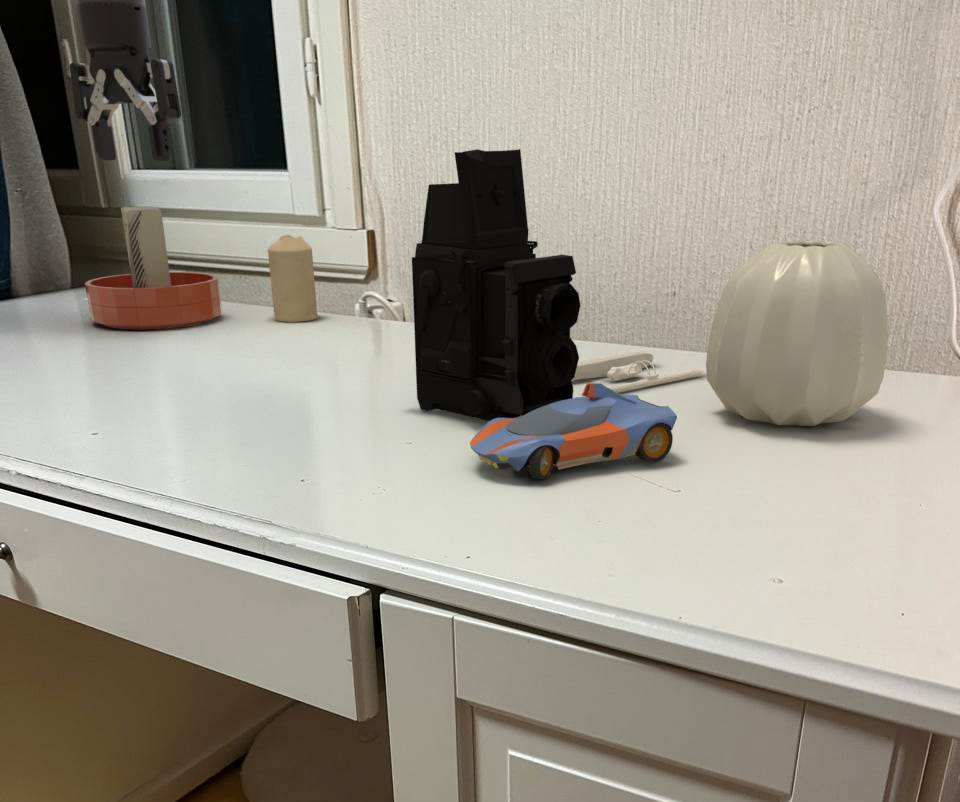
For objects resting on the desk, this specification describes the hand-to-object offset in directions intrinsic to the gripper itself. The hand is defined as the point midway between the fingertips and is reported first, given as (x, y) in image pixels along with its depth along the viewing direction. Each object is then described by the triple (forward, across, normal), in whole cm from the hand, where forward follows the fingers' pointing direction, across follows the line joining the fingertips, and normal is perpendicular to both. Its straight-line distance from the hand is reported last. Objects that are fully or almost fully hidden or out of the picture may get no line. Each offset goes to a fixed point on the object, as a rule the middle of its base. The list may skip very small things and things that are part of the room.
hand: (134, 160), depth 120 cm
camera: (+19, +61, -26) cm, 69 cm away
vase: (+18, +83, -17) cm, 87 cm away
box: (+18, 0, 0) cm, 18 cm away
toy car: (+19, +71, -36) cm, 82 cm away
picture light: (+19, +68, -10) cm, 71 cm away
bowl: (+19, 0, 0) cm, 19 cm away
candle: (+19, +16, +8) cm, 26 cm away
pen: (+19, +64, -8) cm, 67 cm away
